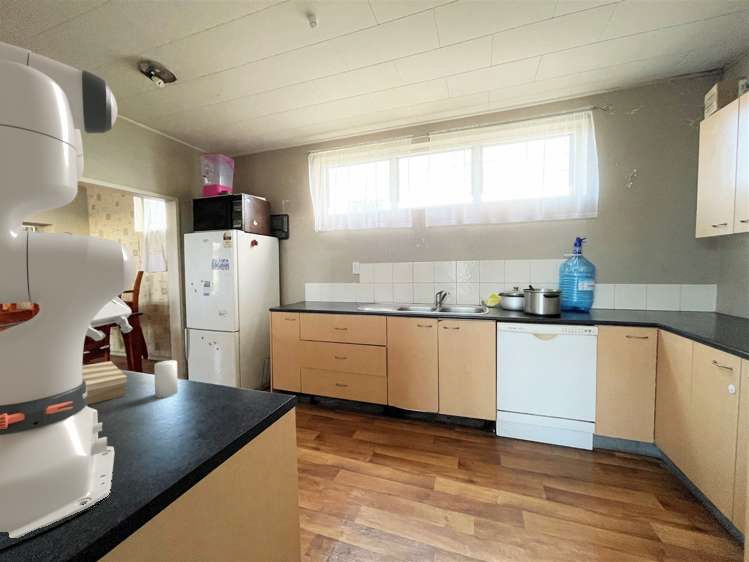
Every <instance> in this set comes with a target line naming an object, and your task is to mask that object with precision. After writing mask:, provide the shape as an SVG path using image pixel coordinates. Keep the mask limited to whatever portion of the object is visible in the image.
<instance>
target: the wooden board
mask: <svg viewBox="0 0 749 562" xmlns="http://www.w3.org/2000/svg"><path fill="white" fill-rule="evenodd" d="M82 380H84V381H85V382H86V388H87V406H88V405H92V404H97V403H100V402H105V401H109V400H113V399H117V397H118V398H121V396H122V397H125V396H126V394H125V393H126V389H125V387H126V385H125V384H126V383H128V376H127V375H126V373H124V372H123V371H122V370H121V369H120V368H118V367H117V365H116V364H114V363H113V362H112V361H111V360H110V361H104V362H98V363H97V362H96V363H92V364H85V365H82Z"/></svg>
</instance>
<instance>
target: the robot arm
mask: <svg viewBox="0 0 749 562" xmlns="http://www.w3.org/2000/svg"><path fill="white" fill-rule="evenodd" d="M117 104H118V103H117V100H116V98H115V96H114V93H113V91H112V88H111V87H110V86H109V84H108V83H107V81H106V80H105V79H103V78H101V77H100V76H98V75H96V74H93V73H92V72H89V71H87V70H84V69H83V70H79V69H78V68H75V67H73V66H71V65H69V64H66V63H63V62H61V61H58V60H55V59H52V58H50V57H48V56H45V55H42V54H38V53H35V52H32V51H31V50H30V49H27V48H24V47H21V46H17V45H13V44H9V43H6V42H4V41H0V305H1V304H2V305H4V304H22V303H25V304H26V303H31V304H37V305H38V308H39V311H38V312H37V314H36V315H35V316H33V317H32V318H30V319H29V320H27V321H24V322H22V323H18V324H17V325H14V326H11V327H9V328H6V329H4V330H2V331H0V532H8V533H9V537H10V538H19V537H21V536H24V535H25V534H27V533H29V532H31V531H34V530H36V529H38V528H42V527H45V526H48V525H50V524H52V523H54V522H56V521H59V520H61V519H63V518H65V517H68V516H70V515H73V514H75V513H77V512H80V511H82V510H84V509H86V508H88V507H90V506H92V505H94V504H95V503H96V502H98V501H100V500H102V499H103V498H105V497H107V496H108V495H109V493H110V494H111V491H110V489H112V482H111V480H112V481H113V473H112V472H114V463H115V448H114V446H109V445H108V436H103V437H100V438H99V432H101V431H103V425H104V424H103V422H102V421H101V422H98V410H97V409H95V408H92V407H89V406H88V405H87V388H86V382H85V381H84V380H82V366H83V357H84V347H85V345H84V344H85V339H86V336H87V337H88V338H89V337H90V338H91V339H92V340H94V342H98V341H102V340H103V339H105V338H106V334H105V333H104V332H103V330H97V329H95V328H96V327H101V326H106V325H110V324H113V323H115V324H116V325H119V326H120V328H119V330H120V331H121V332H122V333H123V334H127V333H130V332H131V331H132V330H133V327H132V326H131V325H130V324H129V321H128V318H129V317H130V316H131V315H132V308H131V307H130V306H129V305H127V303H125V302H124V300H123V299H122V298H120V297H119V296H120V295H122V294H123V293H124V292H126V290H128V289H129V288H130V286H131V285H132V283H133V282H134V280H135V277H136V273H137V272H136V271H137V266H136V260H135V257H134V256H133V254H132V253H131V251H130V249H129V248H128V247H127V246H125V244H123V243H121V241H116V240H111V239H107V238H104V237H98V236H93V235H87V234H73V233H71V232H66V231H65V232H40V231H29V230H24V229H23V223H24V220H26V219H27V218H28V217H30V216H32V215H37V214H39V213H44V212H47V211H53V210H55V209H56V210H57V209H59V208H62V207H64V206H67V205H69V204H71V202H73V201H74V199H75V198H76V197H77V195H78V189H79V188H78V183H79V182H80V181H81V179H82V177H83V174H84V171H85V170H84V169H85V161H84V160H85V158H84V157H85V156H84V147H83V140H82V139H83V138H82V133H81V130H82V131H84V132H86V133H87V134H104V133H106V132H109V131H111V130H112V128H113V126H114V125H115V123H116V120H117V117H118V111H119V110H118V105H117ZM109 496H110V495H109ZM109 496H108V497H109ZM108 497H107V498H108ZM85 503H86V504H85ZM82 504H84V505H82Z"/></svg>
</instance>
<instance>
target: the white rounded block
mask: <svg viewBox="0 0 749 562" xmlns="http://www.w3.org/2000/svg"><path fill="white" fill-rule="evenodd" d="M178 389H179V388H178V361H177V360H174V359H172V360H171V359H170V360H164V361H158V362H156V363H154V397H155V398H156V397H158V398H157V399H161V398H160V397H167V396H171V395H174V394H176V393H177V392H179V391H178ZM177 394H178V393H177ZM177 394H176V395H177ZM174 396H175V395H174ZM171 397H172V396H171ZM167 398H168V397H167Z"/></svg>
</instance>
